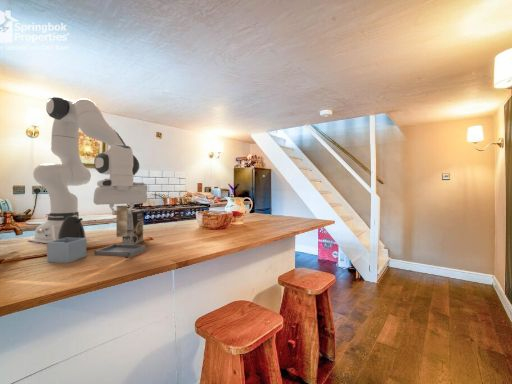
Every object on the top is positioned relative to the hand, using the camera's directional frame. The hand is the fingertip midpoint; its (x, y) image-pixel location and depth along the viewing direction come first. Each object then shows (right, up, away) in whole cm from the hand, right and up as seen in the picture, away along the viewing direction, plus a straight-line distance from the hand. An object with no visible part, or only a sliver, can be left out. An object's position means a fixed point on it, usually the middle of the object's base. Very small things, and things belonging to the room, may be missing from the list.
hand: (121, 214), depth 105 cm
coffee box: (-5, -16, +19) cm, 26 cm away
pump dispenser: (-24, -16, +4) cm, 30 cm away
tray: (0, -17, +1) cm, 17 cm away
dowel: (0, -9, 0) cm, 9 cm away
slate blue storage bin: (-15, -17, -11) cm, 25 cm away
